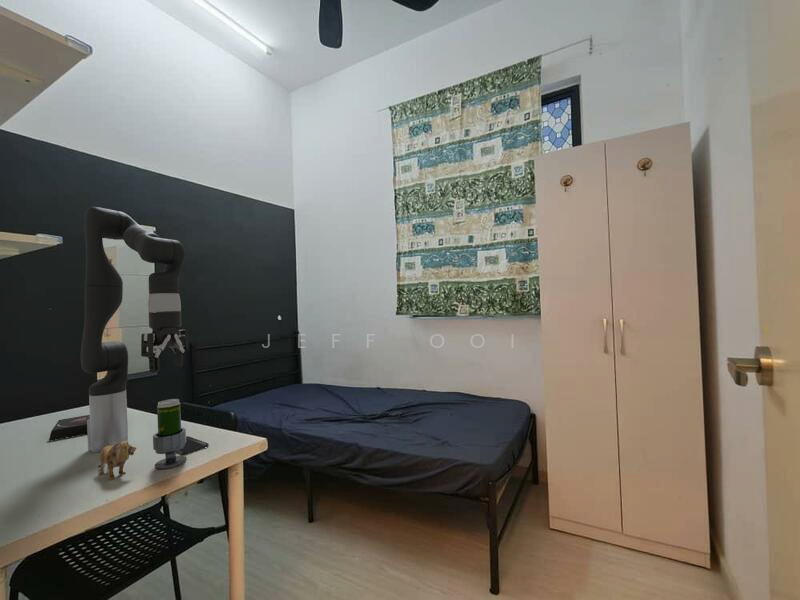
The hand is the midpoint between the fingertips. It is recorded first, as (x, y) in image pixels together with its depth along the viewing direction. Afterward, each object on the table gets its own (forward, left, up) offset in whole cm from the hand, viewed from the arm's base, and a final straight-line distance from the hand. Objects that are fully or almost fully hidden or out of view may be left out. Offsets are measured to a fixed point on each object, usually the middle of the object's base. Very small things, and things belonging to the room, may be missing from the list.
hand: (167, 369), depth 99 cm
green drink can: (0, 0, -21) cm, 21 cm away
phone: (-5, +12, -26) cm, 30 cm away
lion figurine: (-11, -6, -26) cm, 29 cm away
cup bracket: (0, 0, -26) cm, 26 cm away
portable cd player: (-59, +29, -27) cm, 71 cm away
